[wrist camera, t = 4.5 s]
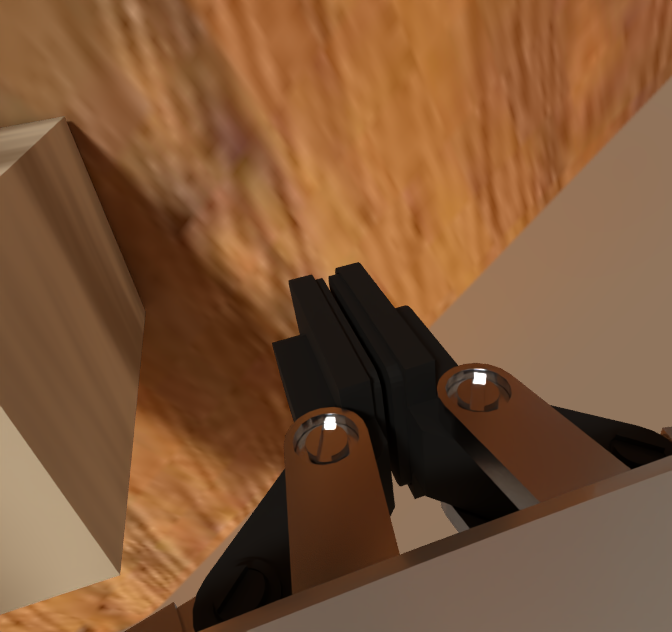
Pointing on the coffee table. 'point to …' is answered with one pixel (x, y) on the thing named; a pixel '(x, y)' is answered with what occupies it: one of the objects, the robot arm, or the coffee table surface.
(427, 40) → the coffee table surface
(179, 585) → the coffee table surface
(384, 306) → the robot arm
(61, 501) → the birch block
